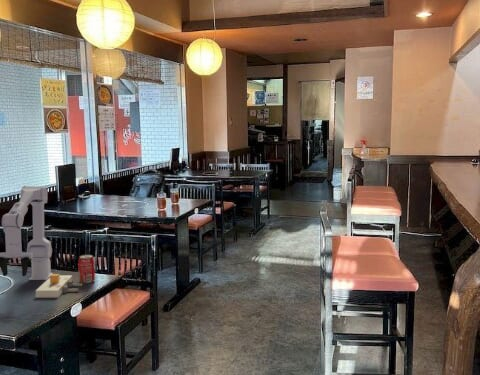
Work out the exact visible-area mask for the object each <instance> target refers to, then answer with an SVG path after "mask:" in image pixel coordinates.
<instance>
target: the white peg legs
mask: <svg viewBox="0 0 480 375" xmlns="http://www.w3.org/2000/svg"><path fill="white" fill-rule="evenodd" d="M83 285H84V283H81V282H79V283H78V282H77V283H74V282H73V280H72V281H68V286H63V293H62V294H64V293H66V294H67V293H78V292H79V288H73V287H83Z"/></svg>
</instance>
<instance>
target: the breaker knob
mask: <svg viewBox="0 0 480 375" xmlns="http://www.w3.org/2000/svg"><path fill="white" fill-rule="evenodd" d="M59 275H60V273H53V274H51V275H50V277H49V278H50V283H58V282H59V281H60V280H59Z"/></svg>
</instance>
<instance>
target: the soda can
mask: <svg viewBox="0 0 480 375" xmlns="http://www.w3.org/2000/svg"><path fill="white" fill-rule="evenodd" d="M77 265H78V269H77V270H78V281H79V283H83V284H91V283H92V282H94V281H95V278H96V271H95V270H96V269H95V268H96V266H95V258H94V256H93V255H92V254H82V255H80V256H79V259H78V264H77Z"/></svg>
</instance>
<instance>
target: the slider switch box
mask: <svg viewBox="0 0 480 375" xmlns="http://www.w3.org/2000/svg"><path fill="white" fill-rule="evenodd" d="M59 280H60V281H59V282H58V283H50V277H49V278H48V279H47V280H45V282H43V283H42V284H41V285H39V287H38V288H37V289H36V290H35V298H38V299H39V298H59V297H60V296H61V295H62V294H64V293H63V286H68V281H73V275H71V274H70V275H68V274H67V275H66V274H65V275H61V274H59Z"/></svg>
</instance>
